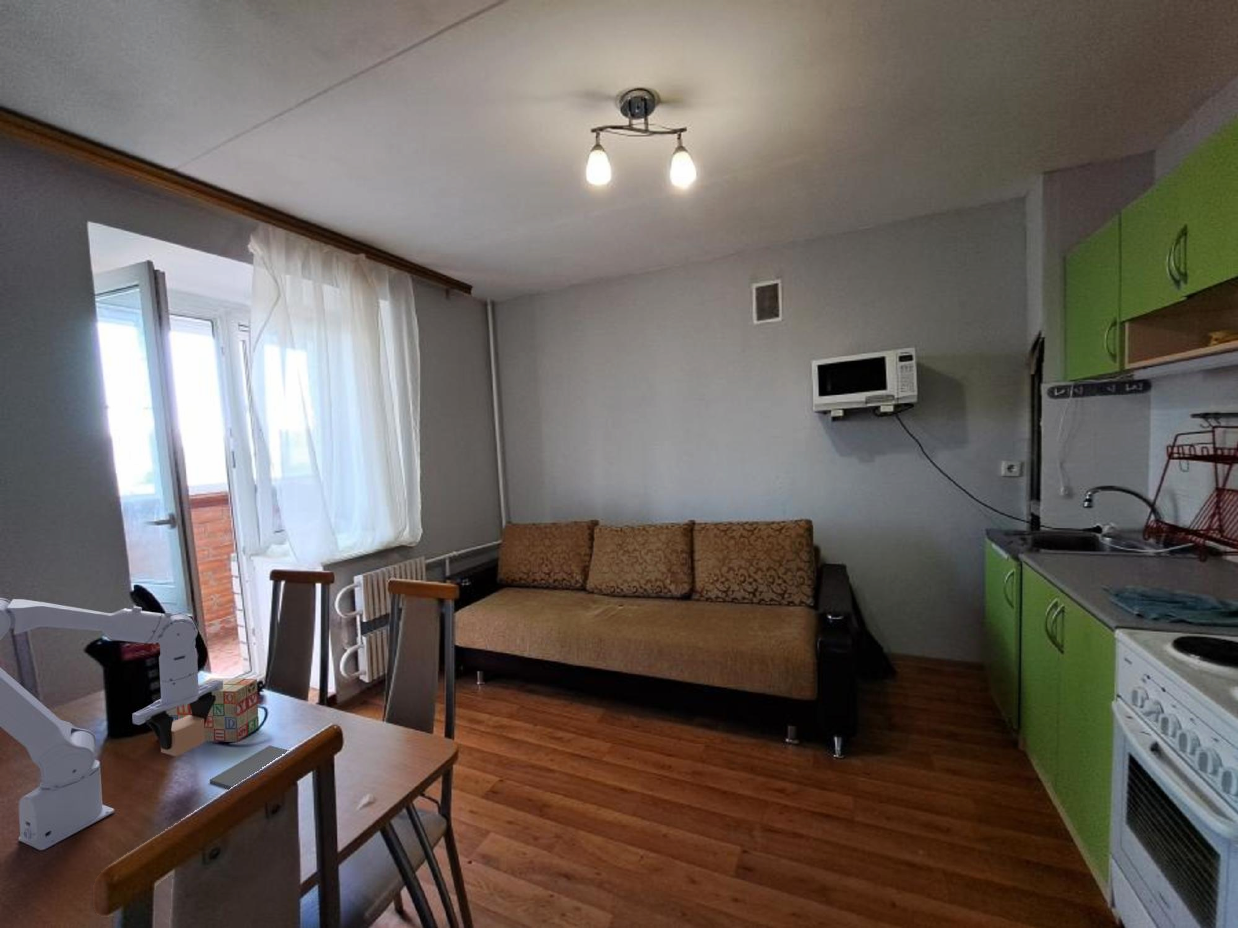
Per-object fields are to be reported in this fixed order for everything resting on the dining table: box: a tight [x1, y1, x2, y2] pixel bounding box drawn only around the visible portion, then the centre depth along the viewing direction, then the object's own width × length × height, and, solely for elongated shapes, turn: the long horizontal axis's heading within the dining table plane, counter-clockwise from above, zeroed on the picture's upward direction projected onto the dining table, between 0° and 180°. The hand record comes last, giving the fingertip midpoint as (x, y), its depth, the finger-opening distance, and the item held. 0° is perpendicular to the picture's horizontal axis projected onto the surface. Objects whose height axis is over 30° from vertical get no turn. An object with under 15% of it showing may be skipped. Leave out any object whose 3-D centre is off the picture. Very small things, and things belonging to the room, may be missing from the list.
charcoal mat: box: [209, 745, 289, 790], centre depth 102 cm, size 12×12×1 cm
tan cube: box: [160, 715, 206, 757], centre depth 99 cm, size 5×5×5 cm
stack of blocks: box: [153, 677, 260, 743], centre depth 116 cm, size 21×6×12 cm, turn 85°
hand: (182, 739), depth 99 cm, fingers closed on tan cube, 5 cm apart
